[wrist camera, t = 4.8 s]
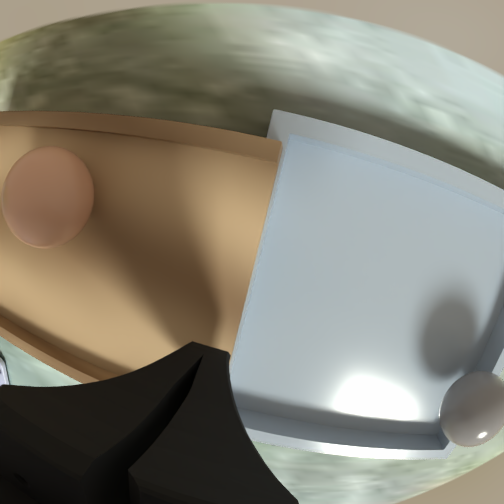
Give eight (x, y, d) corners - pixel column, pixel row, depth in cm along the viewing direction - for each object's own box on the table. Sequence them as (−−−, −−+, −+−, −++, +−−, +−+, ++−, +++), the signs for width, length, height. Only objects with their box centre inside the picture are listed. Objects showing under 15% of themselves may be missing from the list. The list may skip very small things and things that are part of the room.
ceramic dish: (436, 438, 13) (446, 458, 12) (209, 403, 14) (199, 426, 12) (531, 214, 11) (553, 218, 9) (275, 120, 11) (273, 108, 10)
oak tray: (225, 388, 14) (210, 432, 11) (7, 298, 15) (-29, 315, 12) (283, 154, 12) (282, 141, 9) (23, 119, 13) (-19, 112, 9)
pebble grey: (492, 459, 8) (440, 464, 8) (465, 417, 11) (415, 414, 12) (536, 397, 7) (489, 396, 8) (498, 360, 11) (451, 352, 11)
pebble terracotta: (105, 249, 11) (44, 272, 7) (41, 229, 11) (-19, 243, 8) (121, 155, 10) (59, 146, 7) (53, 146, 10) (-9, 139, 7)
